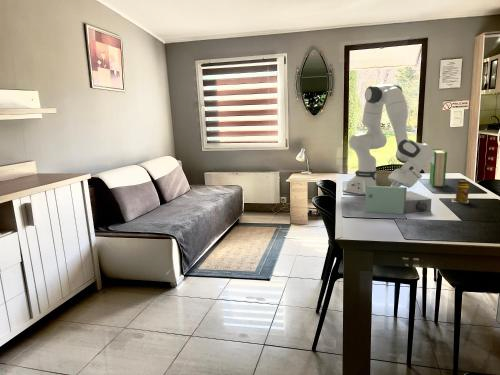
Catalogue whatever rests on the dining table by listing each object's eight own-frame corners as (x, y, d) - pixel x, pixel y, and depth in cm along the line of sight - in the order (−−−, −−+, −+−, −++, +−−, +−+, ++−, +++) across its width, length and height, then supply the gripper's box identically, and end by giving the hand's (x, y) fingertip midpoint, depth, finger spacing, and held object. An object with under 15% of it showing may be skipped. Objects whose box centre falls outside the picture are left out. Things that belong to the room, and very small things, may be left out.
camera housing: (387, 204, 213) (387, 192, 212) (409, 202, 215) (410, 191, 213) (407, 214, 192) (408, 201, 190) (433, 212, 193) (433, 199, 192)
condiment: (468, 203, 209) (470, 182, 207) (451, 202, 213) (452, 181, 211) (468, 200, 215) (470, 180, 213) (451, 199, 219) (453, 179, 217)
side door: (364, 212, 200) (365, 186, 197) (365, 210, 202) (366, 185, 199) (405, 214, 192) (406, 188, 189) (405, 213, 194) (406, 187, 191)
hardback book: (444, 187, 250) (447, 152, 245) (432, 187, 253) (434, 152, 248) (440, 182, 266) (443, 149, 261) (429, 182, 269) (431, 149, 264)
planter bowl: (391, 185, 263) (392, 170, 261) (398, 190, 247) (398, 174, 245) (368, 185, 265) (368, 170, 262) (373, 190, 249) (373, 174, 247)
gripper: (396, 163, 209) (379, 181, 210) (416, 169, 189) (397, 189, 190) (403, 171, 210) (386, 188, 211) (424, 177, 191) (405, 196, 191)
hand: (391, 189), depth 201 cm, fingers closed
